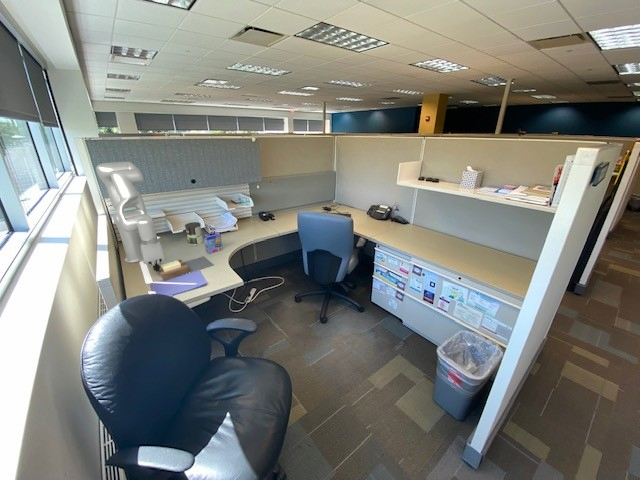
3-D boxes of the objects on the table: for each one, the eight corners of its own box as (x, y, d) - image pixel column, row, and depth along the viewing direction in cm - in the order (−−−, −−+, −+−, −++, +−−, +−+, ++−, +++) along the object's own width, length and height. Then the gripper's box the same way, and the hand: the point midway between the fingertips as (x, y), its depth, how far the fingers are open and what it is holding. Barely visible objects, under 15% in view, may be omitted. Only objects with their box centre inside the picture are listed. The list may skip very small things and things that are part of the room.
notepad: (161, 268, 159) (160, 265, 158) (177, 263, 165) (177, 260, 164) (164, 271, 155) (163, 268, 154) (181, 266, 161) (180, 263, 160)
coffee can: (190, 246, 195) (186, 227, 189) (186, 241, 202) (183, 223, 197) (205, 243, 200) (202, 225, 195) (201, 238, 208) (198, 221, 203)
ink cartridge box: (209, 254, 183) (206, 234, 178) (205, 251, 187) (202, 232, 181) (223, 249, 190) (220, 230, 184) (219, 247, 193) (216, 228, 188)
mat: (181, 263, 171) (181, 262, 171) (203, 256, 180) (203, 256, 180) (190, 272, 160) (190, 272, 160) (213, 265, 169) (213, 264, 169)
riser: (156, 271, 162) (155, 266, 161) (181, 263, 171) (180, 259, 170) (164, 280, 152) (163, 276, 151) (190, 272, 161) (189, 267, 160)
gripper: (162, 235, 155) (169, 264, 162) (132, 242, 146) (140, 272, 153) (166, 239, 150) (173, 268, 157) (135, 246, 141) (143, 277, 148)
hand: (157, 270), depth 155 cm, fingers closed
